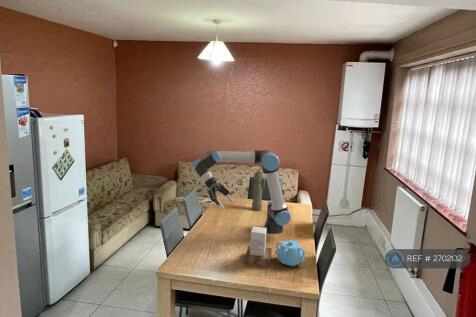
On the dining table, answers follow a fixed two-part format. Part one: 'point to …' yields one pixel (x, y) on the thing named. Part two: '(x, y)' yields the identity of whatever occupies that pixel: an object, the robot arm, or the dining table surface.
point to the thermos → (257, 191)
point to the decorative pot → (290, 253)
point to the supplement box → (258, 241)
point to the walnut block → (258, 258)
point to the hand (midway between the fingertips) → (227, 205)
